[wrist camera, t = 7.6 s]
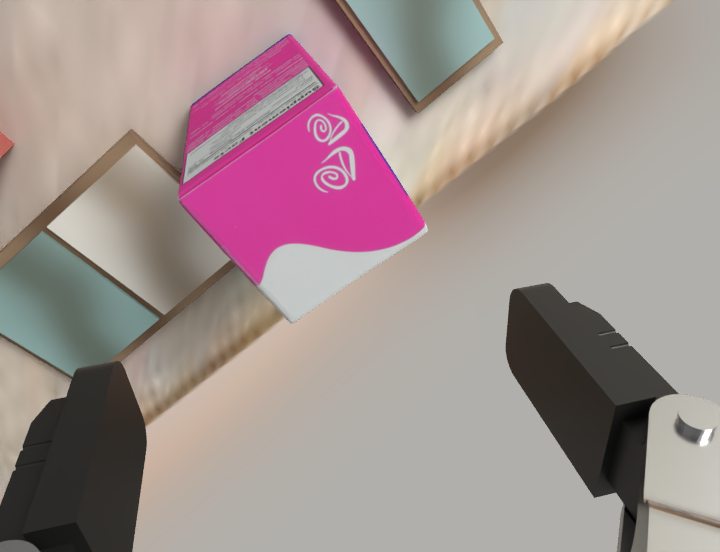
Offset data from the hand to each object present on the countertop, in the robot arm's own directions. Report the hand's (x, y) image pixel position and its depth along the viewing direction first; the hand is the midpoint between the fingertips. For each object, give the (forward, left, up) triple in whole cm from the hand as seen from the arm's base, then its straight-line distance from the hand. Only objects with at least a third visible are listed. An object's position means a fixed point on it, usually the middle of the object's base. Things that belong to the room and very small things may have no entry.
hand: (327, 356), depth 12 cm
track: (+2, -3, -18) cm, 18 cm away
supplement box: (0, 0, -18) cm, 18 cm away
